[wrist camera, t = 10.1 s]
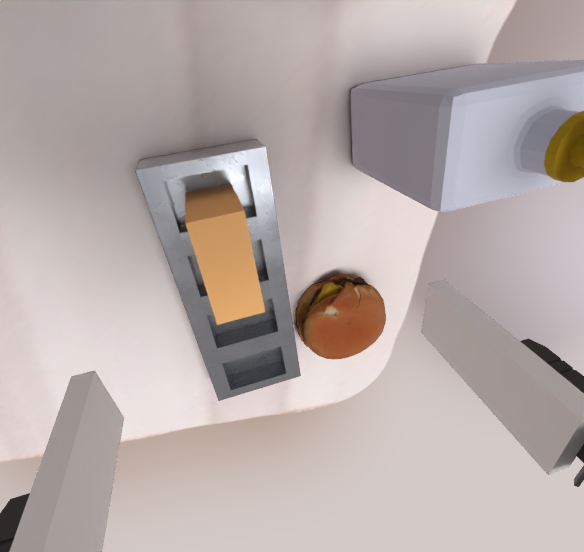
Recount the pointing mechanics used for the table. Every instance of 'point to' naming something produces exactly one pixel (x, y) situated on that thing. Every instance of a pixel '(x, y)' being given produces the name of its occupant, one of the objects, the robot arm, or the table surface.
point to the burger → (340, 317)
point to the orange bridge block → (224, 252)
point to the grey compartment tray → (181, 257)
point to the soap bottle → (472, 131)
